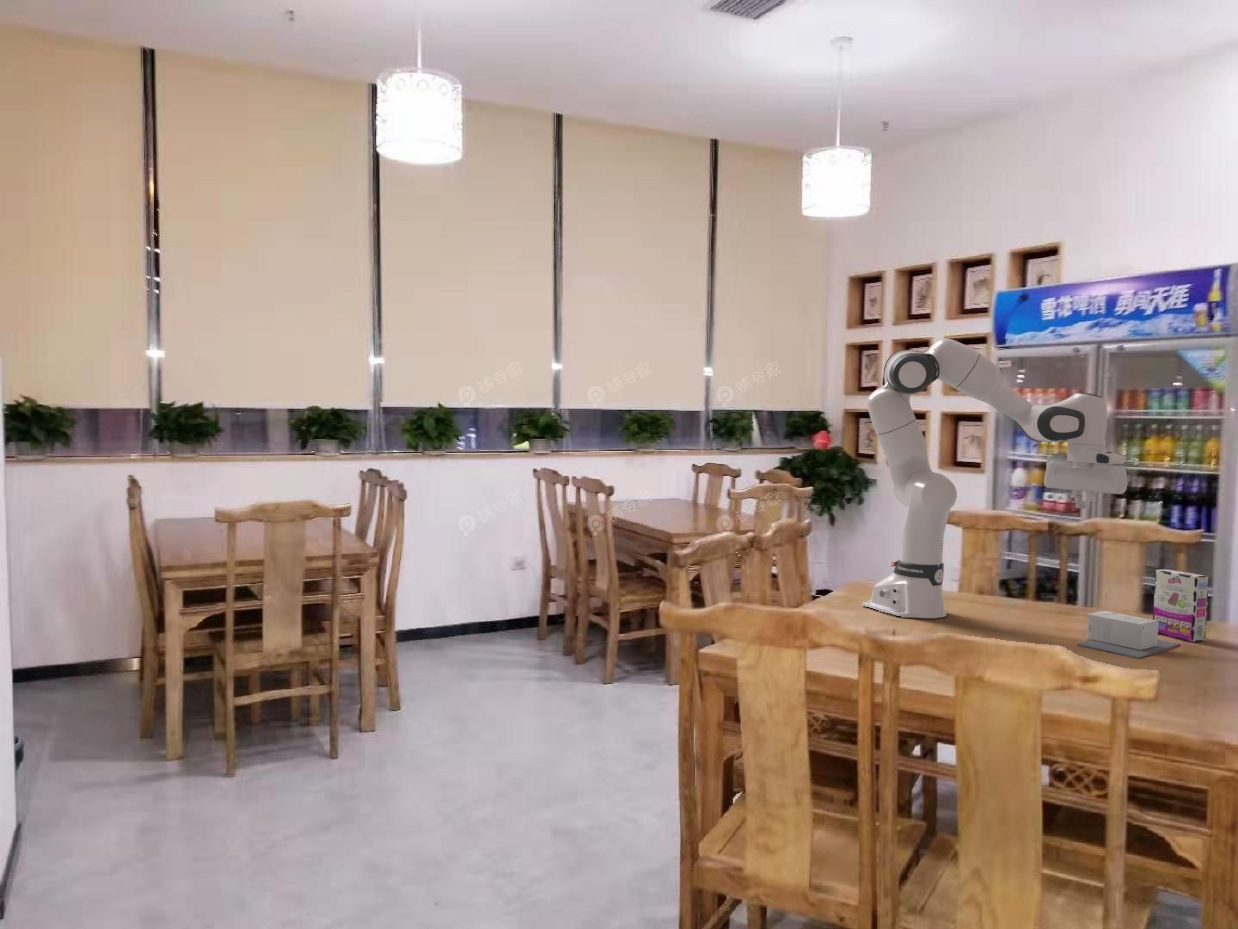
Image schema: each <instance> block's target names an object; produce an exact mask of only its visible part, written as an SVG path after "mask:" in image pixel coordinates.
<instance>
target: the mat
mask: <svg viewBox="0 0 1238 929" xmlns="http://www.w3.org/2000/svg"><path fill="white" fill-rule="evenodd" d="M1077 646H1078V647H1083V648H1087V649H1093V650H1097V651H1101V652H1105V651H1106V653H1110V654H1115V655H1120V656H1124V657H1128V658H1134V659H1137V660H1138V659H1139V660H1140V659H1142V658H1146V657H1148V656H1151V655H1155V654H1157V653H1161V652H1165V651H1167V650H1170V649H1173V648H1176V647H1179V646H1181V643H1180V642H1173V641H1168V640H1163V639H1158V638H1157V646H1155V647H1151V648H1147V649H1143V650H1137V649H1132V648H1128V647H1123V646H1118V645H1114V644H1109V643H1104V642H1099V641H1095V640H1090V639H1088V640H1086V641H1082V642H1079V643H1077Z"/></svg>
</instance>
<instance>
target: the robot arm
mask: <svg viewBox="0 0 1238 929" xmlns="http://www.w3.org/2000/svg"><path fill="white" fill-rule="evenodd" d="M1000 369H1001V368H999V366H998V365H996V364H995V363H994V362H993V361H992V360H991V359H990V358H988V357H987V356H986V355H984V354H983V353H980V352H979V351H977V350H976V349H974V348H973V347H970V346H969V345H967V344H964V343H961V342H959V341H957V340H954V339H952V338H947V337H945V338H944V337H943V338H940V339H939V340H936V341H935V342H934V343H933V344H931V346H930V347H929V348H928V350H926V351H925V352H922V353H920V352H917V351H915V350H907V349H902V350H898V351H895V352H894V353H893V354H891V355H890V356H889V357H888V359H886V362H885V363H884V368H883V375H882V376H883V377H882V382H881V383H882V386H881V387H879V388H876V389H875V390H874V391H872V393H870V394H869V396H868V397H867V401H866V402H867V403H866V404H867V410H868V414H869V418H870V420H871V424H872V427H873V430H874V432H875V434H876V436H877V439H878V441H879V443H880V444H879V445H880V446H881V448H882V451H883V453H884V455H885V457H886V458H885V459H886V461H887V464H888V467H889V472H890V476H891V480H892V484H893V486H892V487H893V493H894V496H895V497H896V499H897V500H898V501H899V502H900V503H901V504H902V505H903V506H905V507H907V508H908V510H907V515H906V519H905V522H904V523H905V524H904V526H903V528H902V529H901V532H900V544H899V545H900V548H899V549H900V550H899V559H897V561H892V562H891V564H892V565H890V567H892V568H893V567H894V569H893V572H892V573H891V574H889V575H888V576H887V577H885V578H884V579H882V580H880V581H879V582H877V583H875V585H874V586H873V589H872V592H871V599H868V600H866V601H863V602H862V607H863V606H865V607H864V608H866V607H870V608H873V609H876V610H879V611H878V612H880V611H881V613H883V612H885V613H884V614H886V613H891V614H894V615H897V616H901V617H900V618H915V619H916V618H917V619H938V618H944V617H946V616H947V612H946V608H945V603H944V596H943V595H944V594H943V581H944V575H945V574H944V571H945V566H944V565H945V564H944V563H943V555H944V554H943V553H944V551H943V550H944V540H945V539H944V538H945V531H946V528H947V523H948V519H949V515H950V513H951V509H952V507H954V505H955V503H956V501H957V498H958V492H957V488H956V486H955V483H953V482H952V481H951V480H950V479H949V478H948V477H947V476H945V475H943V474H941V473H939V472H934V471H933V470H932V468H931V466H930V462H929V457H928V453H927V448H928V445H927V441H926V439H925V436H924V434H923V432H922V429H921V428H920V425H919V423H918V421H917V418H916V416H915V414H914V411H913V409H912V406H911V401H910V400H911V399H910V398H911V396H912V395H914V394H915V395H916V394H918V393H921V392H922V391H924V390H926V388H928V387H929V386H930V385H931V384H933V382H935V381H937V380H939V381H942V382H943V383H945V384H946V385H949V386H950V387H951V388H953V389H954V390H956V391H958V392H960V393H962V394H963V395H965V396H968V397H970V398H972V399H975V400H978V401H981V402H984V403H986V404H988V405H990V406H991V407H993V408H994V409H995V410H997V411H999V412H1000V413H1001V414H1003V415H1005V416H1006V417H1008V418H1009V419H1011V420H1013V422H1014V423H1015V424H1016V425H1017V426H1018V428H1019V429H1020V431H1021V433H1022V434H1023V435H1024V436H1025V437H1026V438H1027V439H1029V440H1030V441H1033V442H1037V443H1043V442H1044V443H1045V442H1050V443H1057V442H1062V441H1067V450H1066V454H1063V453H1061V454H1059V453H1052V454H1051V455H1049V456H1047V458H1046V464H1045V465H1046V469H1045V474H1044V480H1043V481H1044V482H1043V484H1044V486H1045V487H1046V488H1047V489H1058V490H1066V491H1067V490H1070V491H1071V495H1072V497H1073V499H1074V501H1075V508H1076V509H1085V510H1089V509H1090V508H1091V502H1092V501H1093V500H1094V498H1095V496H1096V493H1102V494H1114V495H1123V494H1124V493H1125V492H1126V491H1127V489H1128V487H1127V486H1128V476H1127V474H1128V473H1127V469H1126V467H1125V466H1124V464H1125V461H1126V458H1125V456H1124V455H1121V454H1119V453H1115V452H1114V451H1111V450H1108V449H1106V446H1107V445H1106V444H1107V443H1106V439H1105V435H1106V432H1107V428H1108V408H1107V407H1108V406H1107V403H1106V400H1105V398H1103V397H1102V396H1100V395H1098V394H1093V393H1088V392H1075V393H1074V394H1073V395H1071V396H1070V397H1068V398H1065V399H1064V400H1061V401H1058V402H1056V403H1052V404H1049V405H1048V404H1039V403H1038V404H1037V403H1033V402H1031V401H1029V400H1027V399H1025V398H1024V397H1023V396H1021V395H1019V394H1018V393H1016V392H1015V391H1014V390H1013V389H1010V387H1008V386H1006V384H1005V383H1004V382H1003V380H1002V372H1001V370H1000ZM1082 492H1085V495H1086V496H1087V497H1086V499H1085V500H1084V501H1082V499H1081V496H1080V495H1081V494H1082ZM870 608H869V609H870ZM873 609H872V610H873ZM876 610H875V611H876Z"/></svg>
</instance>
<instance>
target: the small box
mask: <svg viewBox="0 0 1238 929" xmlns="http://www.w3.org/2000/svg"><path fill="white" fill-rule="evenodd" d="M1086 620H1087V622H1086V639H1087V640H1095V641H1099V642H1104V643H1109V644H1114V645H1118V646H1123V647H1128V648H1132V649H1137V650H1143V649H1147V648H1151V647H1155V646H1157V639H1158V635H1159V634H1158V621H1156V620H1153V619H1150V618H1145V617H1140V616H1135V615H1129V614H1126V613H1125V614H1123V613H1119V612H1114V611H1108V610H1101V611H1096V612H1095V611H1094V612H1091V613H1087V619H1086Z"/></svg>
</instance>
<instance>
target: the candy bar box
mask: <svg viewBox="0 0 1238 929" xmlns="http://www.w3.org/2000/svg"><path fill="white" fill-rule="evenodd" d="M1154 575H1155V576H1154V579H1155V580H1154V591H1153V592H1154V596H1153V609H1152V610H1153V611H1152V612H1153V613H1152V620H1156V621H1158V635H1160V636H1165V637H1168V638H1172V639H1173V638H1174V639H1176V640H1181V641H1184V642H1189V643H1202V642H1206V632H1207V617H1208V616H1207V615H1208V613H1207V612H1208V601H1209V600H1208V598H1209V597H1208V596H1209V584H1210V583H1209V581H1210V576H1209V575H1205V574H1204V575H1203V574H1198V573H1194V572H1187V571H1181V570H1175V569H1169V568H1167V569H1166V568H1163V569H1162V568H1161V569H1156V570H1155V574H1154Z"/></svg>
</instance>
